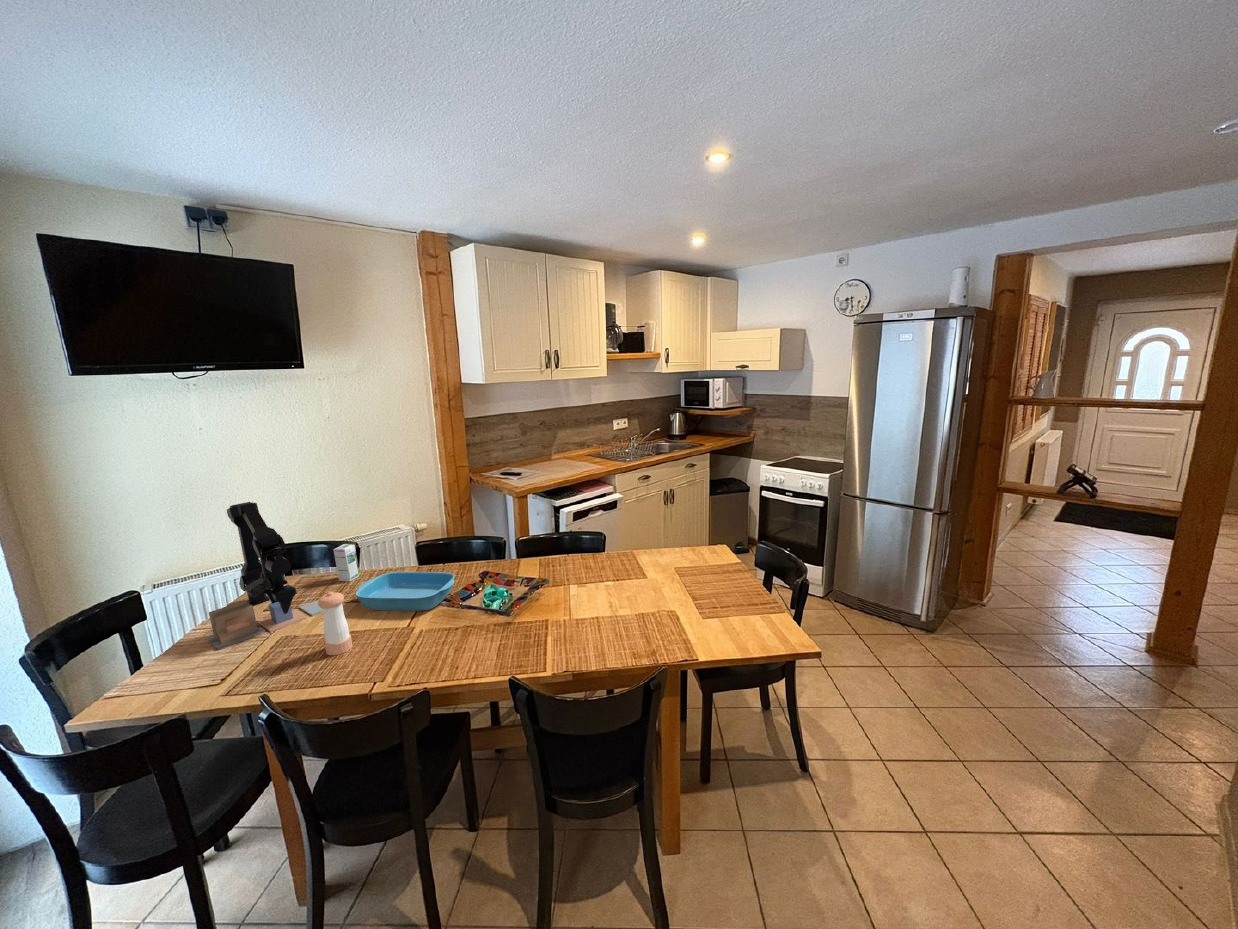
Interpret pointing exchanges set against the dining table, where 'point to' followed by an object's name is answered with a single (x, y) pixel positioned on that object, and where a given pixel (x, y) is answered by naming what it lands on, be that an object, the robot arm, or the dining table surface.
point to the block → (279, 613)
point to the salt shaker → (335, 624)
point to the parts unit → (233, 624)
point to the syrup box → (346, 562)
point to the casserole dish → (405, 591)
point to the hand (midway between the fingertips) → (280, 610)
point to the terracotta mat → (273, 626)
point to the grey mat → (312, 608)
